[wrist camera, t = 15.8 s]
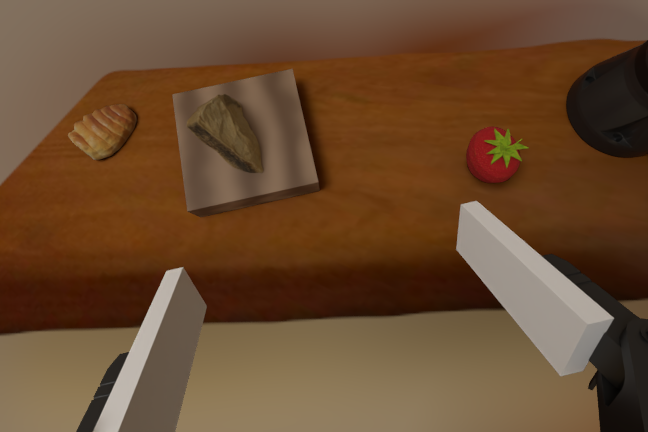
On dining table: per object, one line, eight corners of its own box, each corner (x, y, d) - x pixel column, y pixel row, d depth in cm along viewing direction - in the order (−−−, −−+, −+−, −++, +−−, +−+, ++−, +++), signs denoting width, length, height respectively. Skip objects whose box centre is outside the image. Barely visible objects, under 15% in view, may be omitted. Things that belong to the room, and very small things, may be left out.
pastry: (121, 101, 48) (104, 86, 44) (149, 125, 47) (133, 113, 43) (77, 141, 46) (55, 129, 43) (104, 167, 46) (84, 158, 42)
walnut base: (295, 86, 47) (292, 68, 43) (319, 190, 43) (318, 182, 40) (185, 109, 47) (172, 94, 43) (200, 217, 43) (187, 211, 39)
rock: (201, 86, 40) (173, 146, 37) (221, 49, 34) (188, 120, 30) (269, 127, 46) (249, 183, 43) (298, 104, 39) (277, 168, 36)
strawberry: (484, 142, 44) (528, 104, 35) (500, 189, 43) (550, 163, 33) (446, 150, 44) (479, 114, 34) (461, 197, 43) (500, 174, 33)
